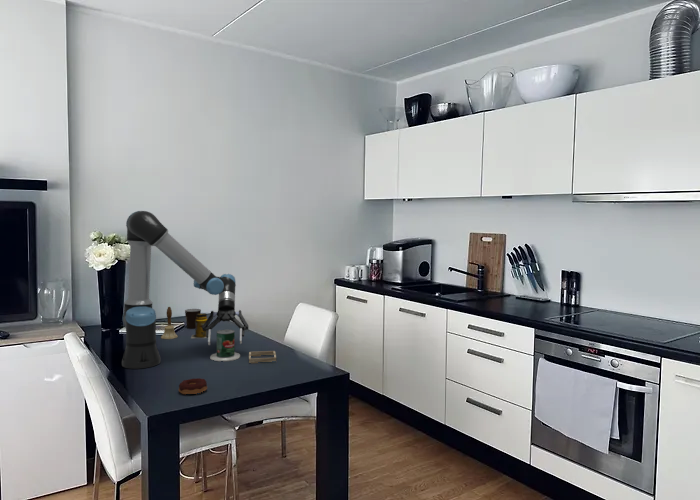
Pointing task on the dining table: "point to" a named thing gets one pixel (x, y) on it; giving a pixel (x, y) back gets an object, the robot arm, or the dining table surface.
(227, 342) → the canned tomato
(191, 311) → the coffee mug
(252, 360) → the wooden tray
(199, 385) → the donut
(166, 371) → the dining table surface
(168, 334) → the hand bell
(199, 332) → the condiment
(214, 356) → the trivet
